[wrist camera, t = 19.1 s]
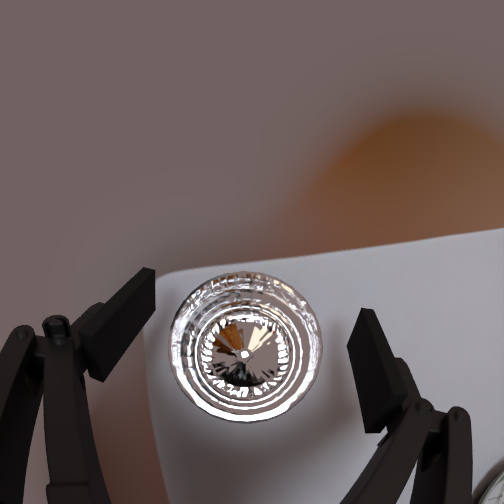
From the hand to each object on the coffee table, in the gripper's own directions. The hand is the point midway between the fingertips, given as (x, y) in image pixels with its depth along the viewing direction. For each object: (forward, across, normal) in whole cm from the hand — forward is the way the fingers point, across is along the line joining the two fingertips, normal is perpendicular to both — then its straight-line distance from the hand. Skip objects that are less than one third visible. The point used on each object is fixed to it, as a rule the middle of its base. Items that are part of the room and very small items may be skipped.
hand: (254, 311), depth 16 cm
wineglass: (+2, 0, -5) cm, 6 cm away
